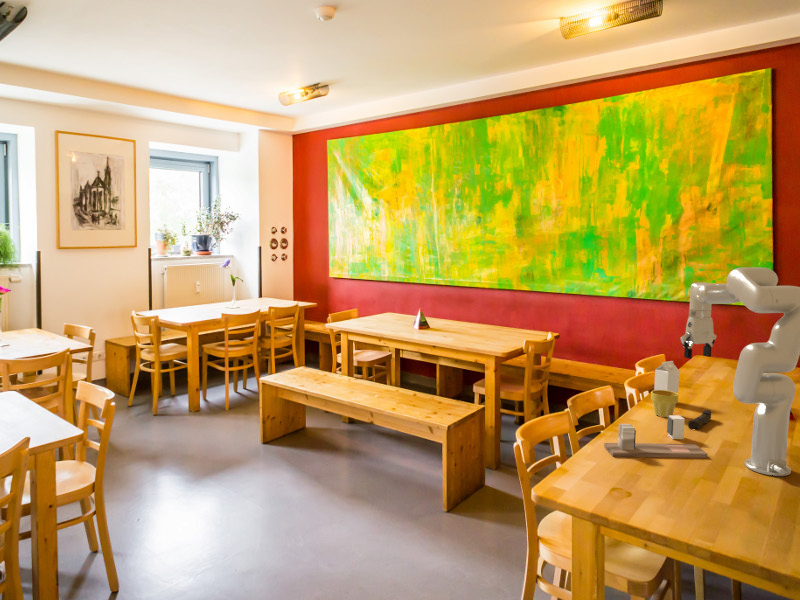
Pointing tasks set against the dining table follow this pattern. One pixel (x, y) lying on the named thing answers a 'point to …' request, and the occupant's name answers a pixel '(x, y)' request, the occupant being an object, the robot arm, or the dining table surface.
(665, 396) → the plant pot
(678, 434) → the block
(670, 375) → the milk carton
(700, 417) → the hand tool
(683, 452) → the rail
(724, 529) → the dining table surface
